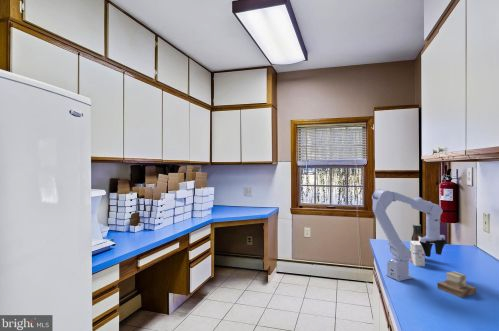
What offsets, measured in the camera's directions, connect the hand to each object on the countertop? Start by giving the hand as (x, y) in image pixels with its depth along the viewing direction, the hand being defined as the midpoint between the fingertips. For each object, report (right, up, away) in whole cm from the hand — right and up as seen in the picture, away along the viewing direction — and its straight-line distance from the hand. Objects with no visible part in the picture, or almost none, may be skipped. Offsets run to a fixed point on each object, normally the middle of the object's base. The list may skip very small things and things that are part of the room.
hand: (433, 255), depth 143 cm
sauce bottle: (+8, -10, +27) cm, 30 cm away
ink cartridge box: (+3, -11, +18) cm, 21 cm away
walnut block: (0, -11, -16) cm, 20 cm away
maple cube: (0, -8, -16) cm, 18 cm away
